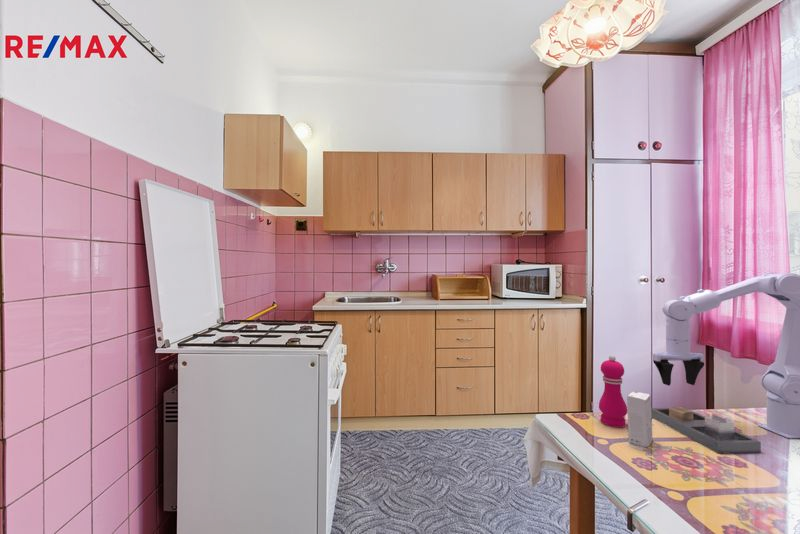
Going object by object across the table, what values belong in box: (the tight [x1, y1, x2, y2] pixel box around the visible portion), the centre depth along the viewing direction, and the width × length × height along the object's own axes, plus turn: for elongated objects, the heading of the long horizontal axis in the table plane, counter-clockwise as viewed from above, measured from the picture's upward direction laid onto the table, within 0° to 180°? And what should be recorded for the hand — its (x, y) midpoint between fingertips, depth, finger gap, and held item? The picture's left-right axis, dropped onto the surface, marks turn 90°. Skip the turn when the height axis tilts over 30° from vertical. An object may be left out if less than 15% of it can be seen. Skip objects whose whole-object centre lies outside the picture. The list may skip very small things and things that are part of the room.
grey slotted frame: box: [651, 407, 762, 454], centre depth 97 cm, size 11×22×2 cm, turn 2°
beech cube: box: [668, 406, 694, 421], centre depth 103 cm, size 4×4×4 cm
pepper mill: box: [598, 354, 628, 428], centre depth 103 cm, size 7×7×20 cm
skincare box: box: [626, 391, 653, 448], centre depth 92 cm, size 6×4×12 cm
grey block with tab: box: [704, 413, 735, 441], centre depth 91 cm, size 4×4×7 cm
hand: (678, 384), depth 106 cm, fingers open, 7 cm apart
